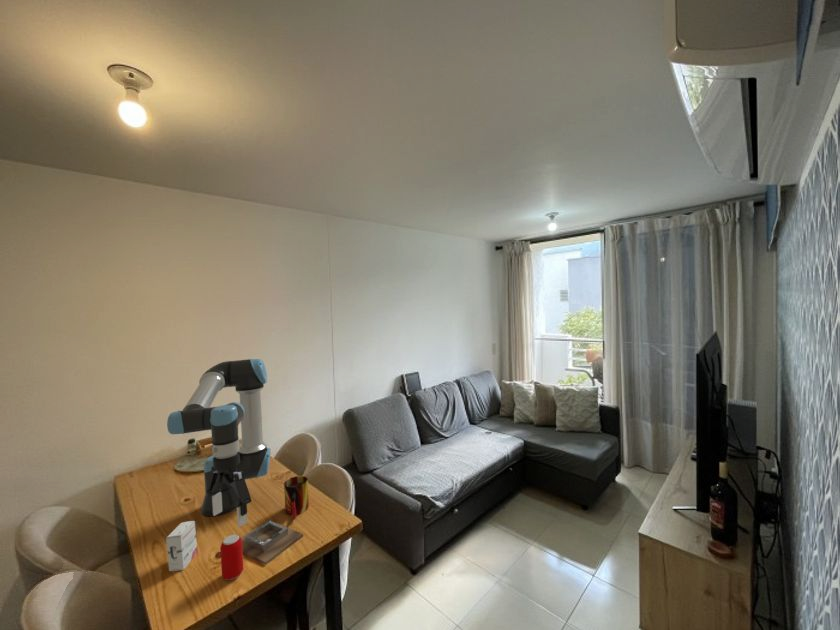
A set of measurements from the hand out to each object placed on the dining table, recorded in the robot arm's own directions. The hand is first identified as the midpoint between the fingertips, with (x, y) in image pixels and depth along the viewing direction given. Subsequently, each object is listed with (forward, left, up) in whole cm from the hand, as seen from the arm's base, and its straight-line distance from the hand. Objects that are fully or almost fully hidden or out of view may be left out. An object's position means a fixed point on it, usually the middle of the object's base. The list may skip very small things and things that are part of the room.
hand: (229, 518), depth 109 cm
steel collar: (-4, +16, -19) cm, 25 cm away
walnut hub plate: (-4, +16, -19) cm, 25 cm away
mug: (-9, +35, -19) cm, 41 cm away
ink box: (-22, -4, -19) cm, 30 cm away
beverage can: (0, 0, -19) cm, 19 cm away
